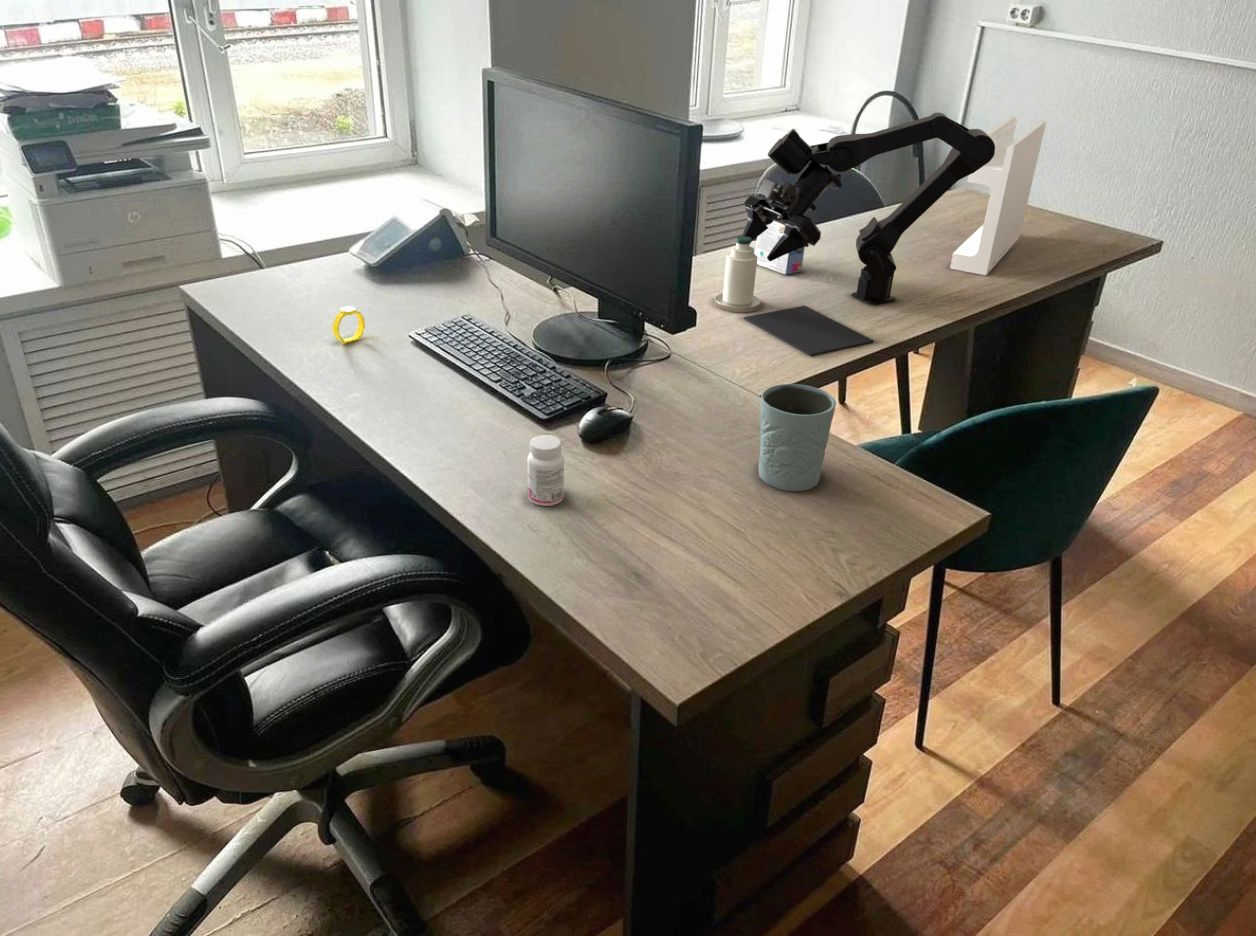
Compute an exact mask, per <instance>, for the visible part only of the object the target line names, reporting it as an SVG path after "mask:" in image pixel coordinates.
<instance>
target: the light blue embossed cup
mask: <svg viewBox="0 0 1256 936" xmlns="http://www.w3.org/2000/svg"><path fill="white" fill-rule="evenodd" d="M836 405H837V401H836V399H835V398H834V396H833V395H832V394H830V393H828V392H827V391H826V390H823V389H822V388H821V389H820V388H818V387H815V386H811V385H806V384H799V383H784V384H776V385H772V386H770V387H768V388H766V389H765V390H764V391H763V392H762V393H761V396H760V439H759V458H758V459H759V460H758V476H759V479H761V481H762V482H763V483H765V484H766V485H768V486H770V487H772V488H774V489H776V490H781V491H786V492H804V491H808V490H812V489H813V488H815V487H816V486H817V485H818V484H819V482H820V479H821V474H822V468H823V463H824V460H825V454H826V449H827V445H828V441H829V438H830V432H831V426H832V423H833V419H834V415H835V412H836V411H835V410H836Z"/></svg>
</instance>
